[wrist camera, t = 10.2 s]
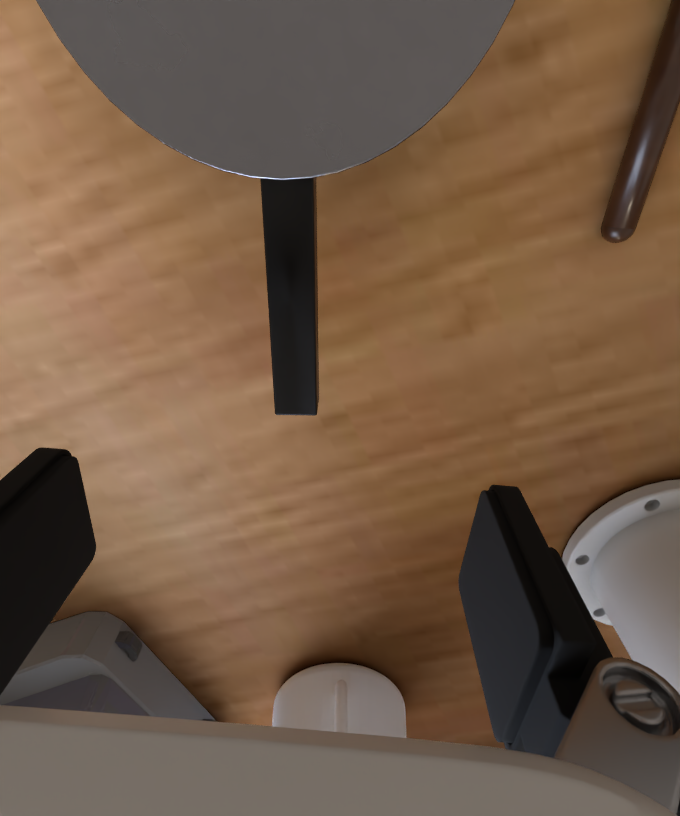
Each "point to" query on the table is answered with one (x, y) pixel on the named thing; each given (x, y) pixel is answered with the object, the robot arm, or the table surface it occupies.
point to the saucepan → (281, 109)
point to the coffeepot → (341, 701)
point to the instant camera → (99, 673)
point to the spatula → (646, 134)
